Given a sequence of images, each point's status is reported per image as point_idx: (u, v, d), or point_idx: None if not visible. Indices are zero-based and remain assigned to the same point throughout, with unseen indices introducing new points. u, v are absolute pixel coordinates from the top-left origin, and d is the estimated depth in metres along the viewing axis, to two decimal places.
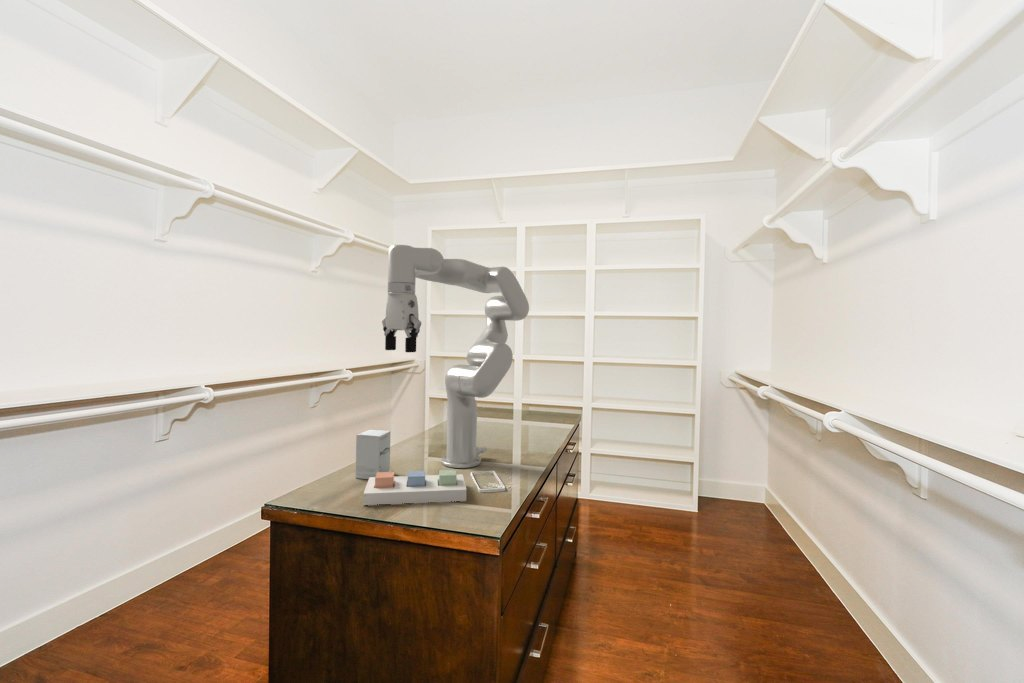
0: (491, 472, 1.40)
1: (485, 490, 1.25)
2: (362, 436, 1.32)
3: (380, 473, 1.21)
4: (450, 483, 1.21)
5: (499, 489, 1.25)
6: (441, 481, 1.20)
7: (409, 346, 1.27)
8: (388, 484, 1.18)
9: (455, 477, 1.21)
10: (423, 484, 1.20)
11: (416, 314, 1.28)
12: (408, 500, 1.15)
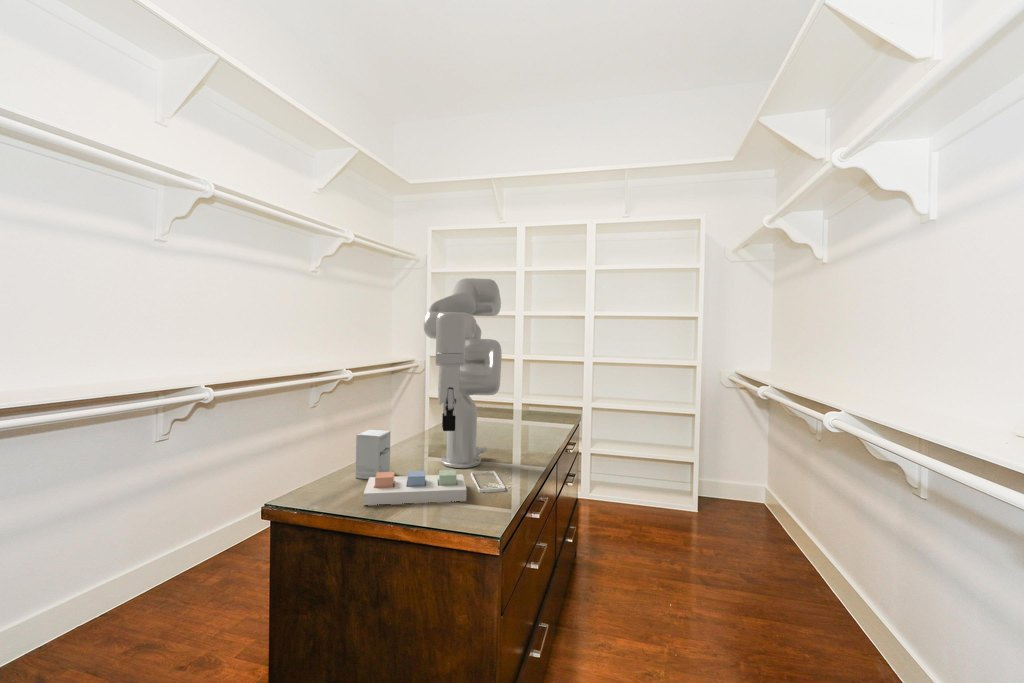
0: (491, 472, 1.40)
1: (485, 490, 1.25)
2: (362, 436, 1.32)
3: (380, 473, 1.21)
4: (450, 483, 1.21)
5: (499, 489, 1.25)
6: (441, 481, 1.20)
7: None
8: (388, 484, 1.18)
9: (455, 477, 1.21)
10: (423, 484, 1.20)
11: None
12: (408, 500, 1.15)
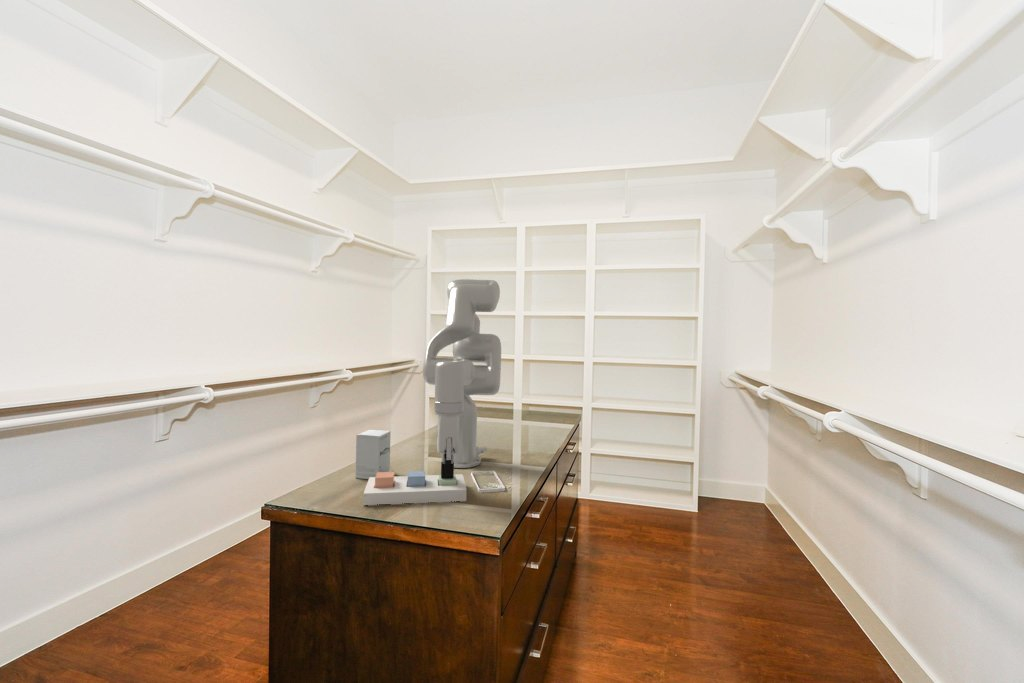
0: (491, 472, 1.40)
1: (485, 490, 1.25)
2: (362, 436, 1.32)
3: (380, 473, 1.21)
4: None
5: (499, 489, 1.25)
6: None
7: None
8: (388, 484, 1.18)
9: (455, 481, 1.21)
10: (423, 484, 1.20)
11: None
12: (408, 500, 1.15)
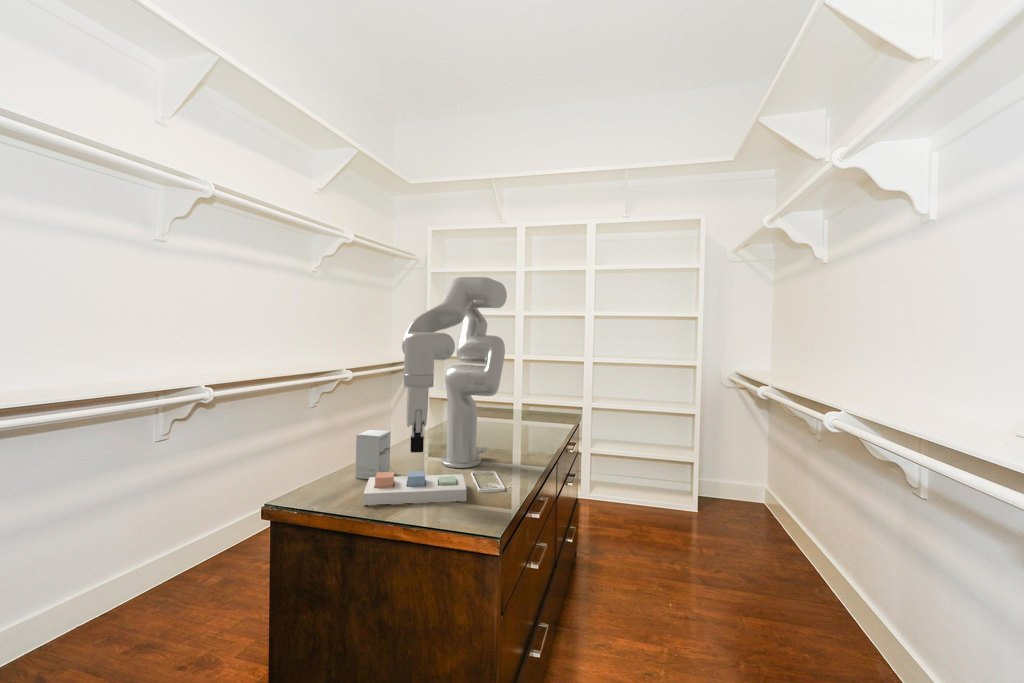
0: (492, 472, 1.40)
1: (485, 490, 1.25)
2: (362, 436, 1.32)
3: (380, 473, 1.21)
4: None
5: (499, 489, 1.25)
6: None
7: None
8: (388, 484, 1.18)
9: (455, 484, 1.21)
10: (423, 484, 1.20)
11: None
12: (408, 500, 1.15)
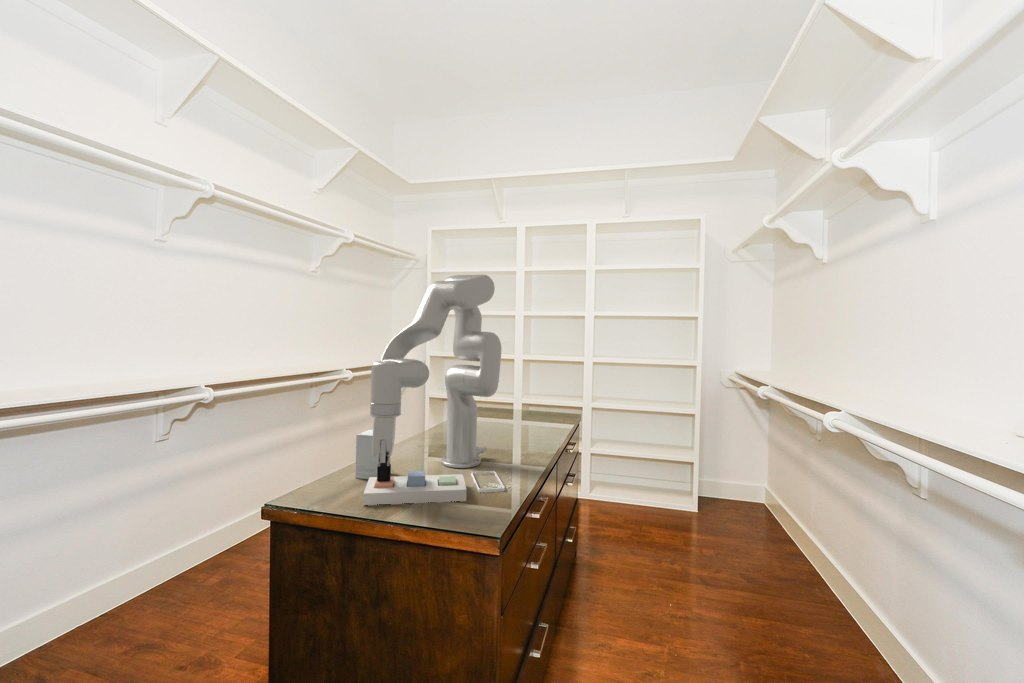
0: (492, 472, 1.40)
1: (485, 490, 1.25)
2: (362, 436, 1.32)
3: None
4: None
5: (499, 489, 1.25)
6: None
7: None
8: None
9: (455, 484, 1.21)
10: (423, 484, 1.20)
11: None
12: (408, 500, 1.15)
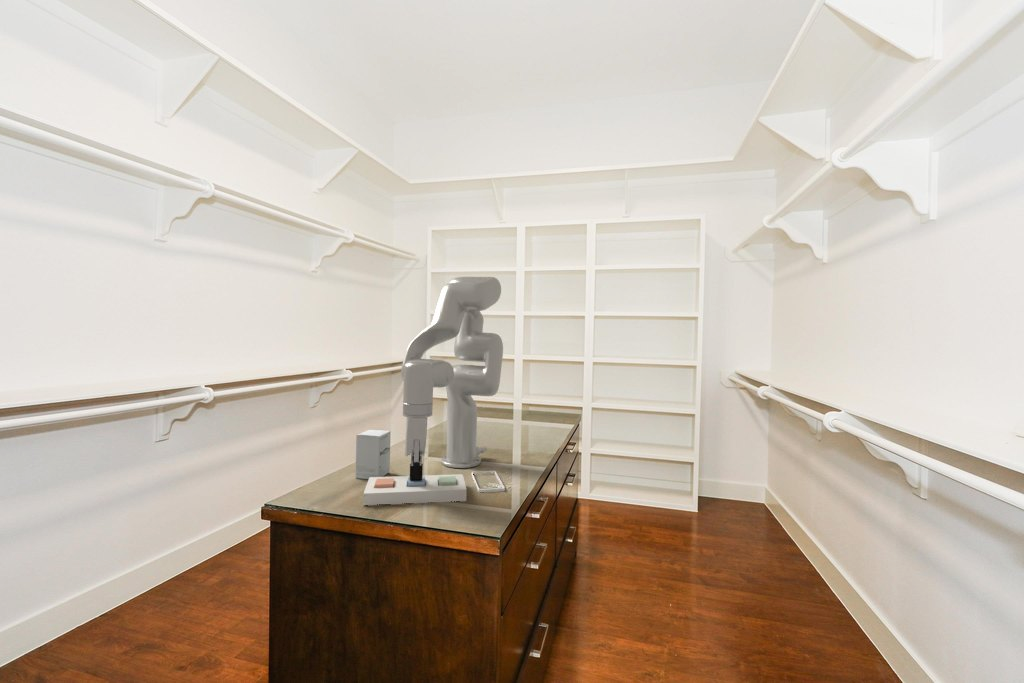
0: (492, 472, 1.40)
1: (484, 490, 1.25)
2: (362, 436, 1.32)
3: (380, 480, 1.21)
4: None
5: (498, 489, 1.25)
6: None
7: None
8: None
9: (455, 484, 1.21)
10: None
11: None
12: (408, 500, 1.15)
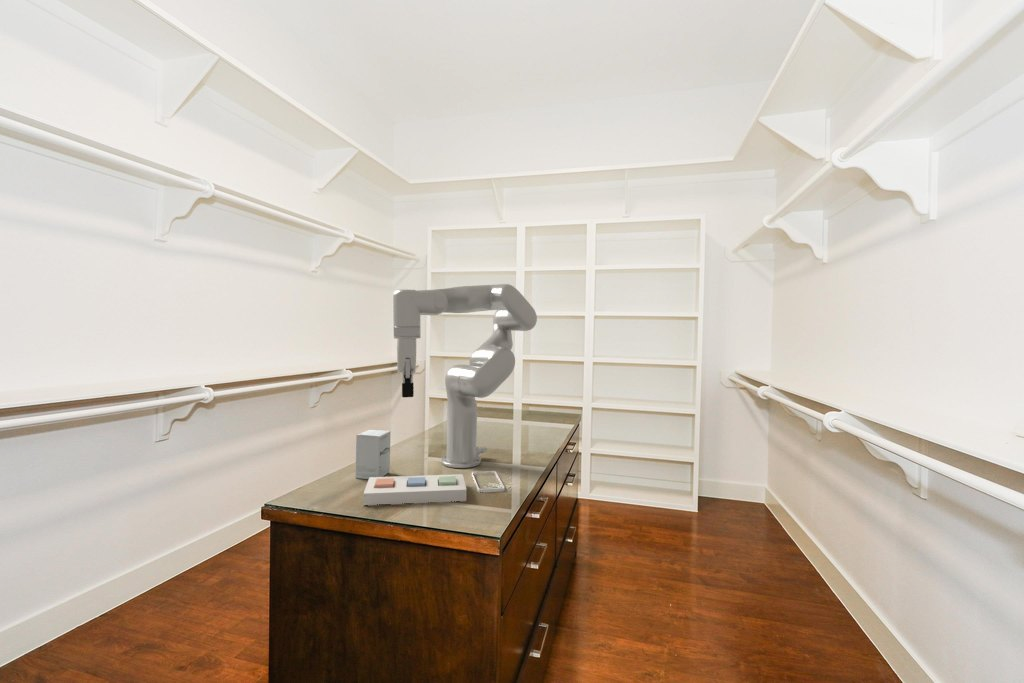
0: (492, 472, 1.40)
1: (484, 490, 1.25)
2: (362, 436, 1.32)
3: (380, 480, 1.21)
4: None
5: (498, 489, 1.25)
6: None
7: None
8: None
9: (455, 484, 1.21)
10: None
11: None
12: (408, 500, 1.15)
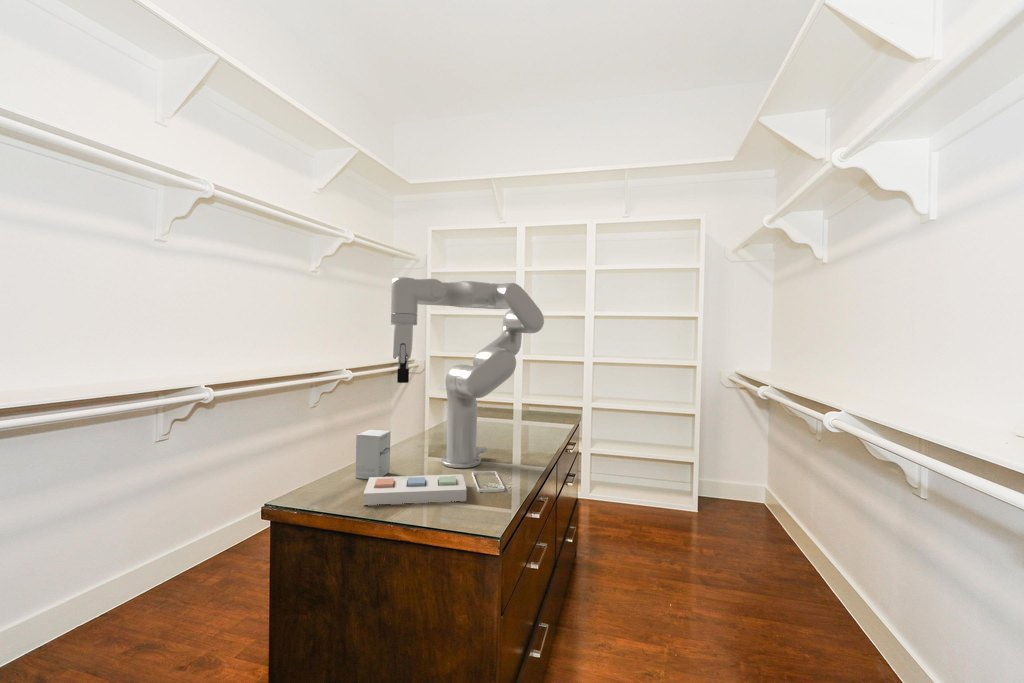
0: (492, 472, 1.40)
1: (484, 490, 1.25)
2: (362, 436, 1.32)
3: (380, 480, 1.21)
4: None
5: (498, 489, 1.25)
6: None
7: None
8: None
9: (455, 484, 1.21)
10: None
11: None
12: (408, 500, 1.15)
